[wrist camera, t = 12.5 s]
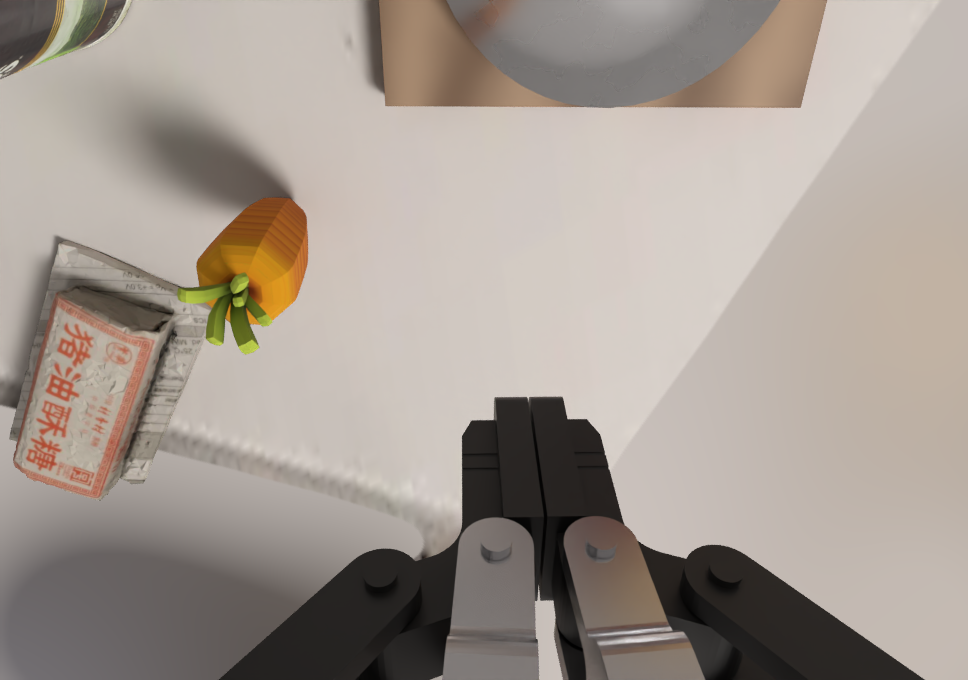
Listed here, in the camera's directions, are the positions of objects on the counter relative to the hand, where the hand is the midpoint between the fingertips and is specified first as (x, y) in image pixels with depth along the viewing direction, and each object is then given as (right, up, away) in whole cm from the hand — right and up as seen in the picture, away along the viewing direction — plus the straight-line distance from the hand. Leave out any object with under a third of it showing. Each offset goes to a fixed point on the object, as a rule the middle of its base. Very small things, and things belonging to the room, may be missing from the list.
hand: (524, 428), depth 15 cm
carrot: (-13, +10, +28) cm, 32 cm away
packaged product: (-27, 0, +34) cm, 44 cm away
